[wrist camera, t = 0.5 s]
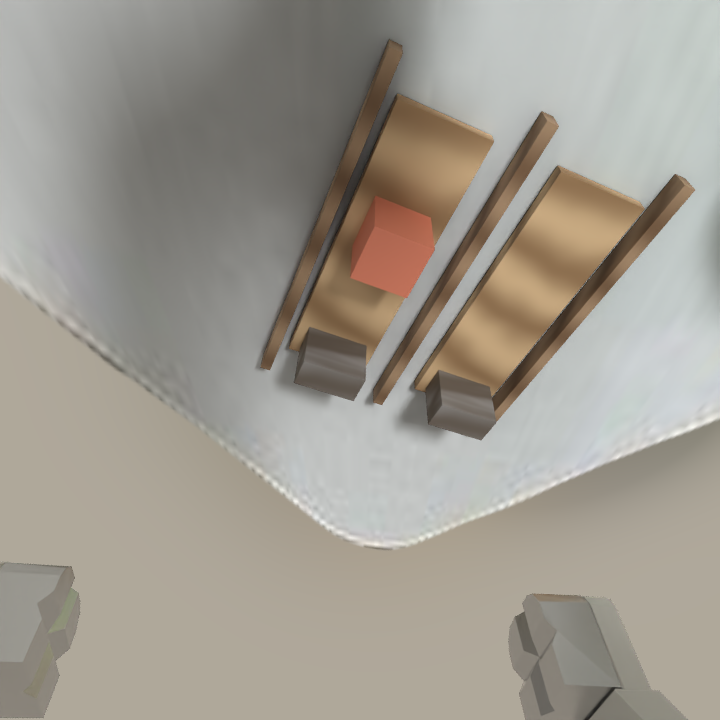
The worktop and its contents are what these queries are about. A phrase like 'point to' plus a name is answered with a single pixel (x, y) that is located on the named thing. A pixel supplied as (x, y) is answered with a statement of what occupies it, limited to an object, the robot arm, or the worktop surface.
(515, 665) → the robot arm
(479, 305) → the strip
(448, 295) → the lane rails
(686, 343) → the worktop surface
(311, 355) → the strip
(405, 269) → the cube
